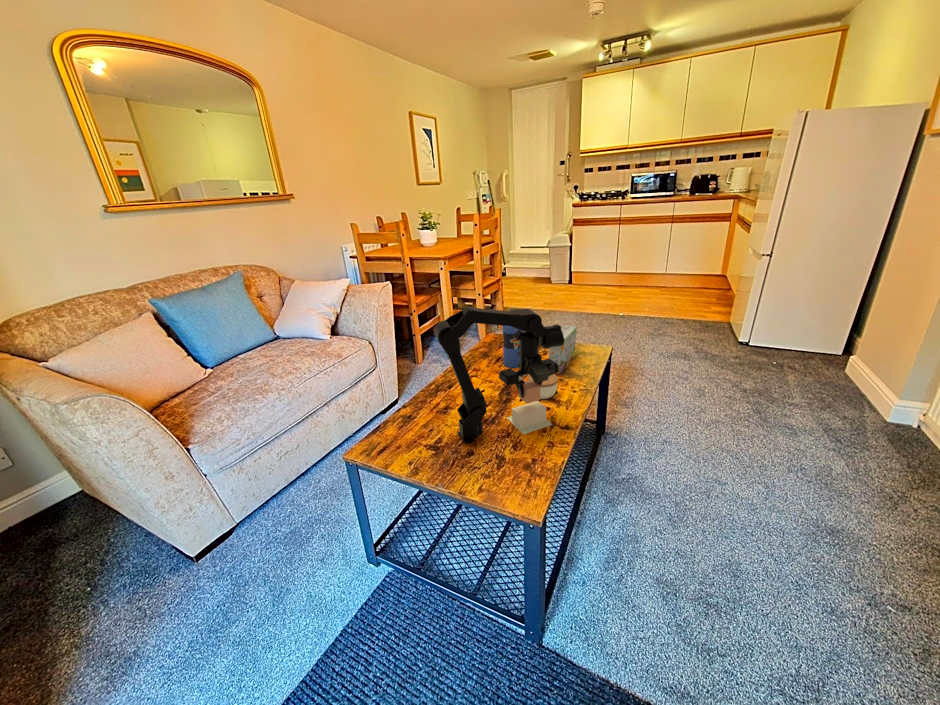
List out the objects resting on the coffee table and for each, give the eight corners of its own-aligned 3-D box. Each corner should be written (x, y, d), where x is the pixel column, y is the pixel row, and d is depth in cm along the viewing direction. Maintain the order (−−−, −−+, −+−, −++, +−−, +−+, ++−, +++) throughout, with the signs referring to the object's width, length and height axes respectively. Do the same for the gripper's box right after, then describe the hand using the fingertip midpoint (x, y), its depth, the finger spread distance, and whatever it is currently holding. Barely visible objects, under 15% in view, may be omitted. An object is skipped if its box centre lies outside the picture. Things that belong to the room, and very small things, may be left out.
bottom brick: (519, 429, 126) (519, 415, 124) (512, 421, 131) (511, 408, 129) (546, 420, 130) (546, 407, 128) (537, 413, 134) (537, 400, 132)
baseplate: (523, 436, 124) (523, 434, 124) (506, 420, 133) (506, 417, 133) (552, 427, 128) (552, 424, 128) (534, 411, 137) (534, 409, 137)
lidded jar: (558, 390, 150) (559, 368, 146) (556, 404, 141) (556, 381, 137) (530, 388, 153) (530, 366, 149) (526, 402, 143) (526, 379, 140)
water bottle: (499, 362, 176) (497, 308, 166) (517, 357, 180) (516, 305, 170) (509, 370, 168) (508, 314, 158) (528, 365, 172) (528, 310, 162)
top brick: (526, 403, 123) (526, 389, 122) (518, 396, 128) (518, 383, 126) (540, 399, 125) (540, 385, 123) (531, 392, 129) (531, 379, 127)
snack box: (560, 376, 160) (561, 342, 154) (547, 374, 163) (548, 340, 157) (575, 357, 177) (577, 325, 171) (563, 355, 179) (564, 324, 173)
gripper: (515, 367, 110) (516, 414, 116) (570, 353, 116) (568, 399, 122) (497, 353, 119) (498, 398, 126) (549, 341, 126) (548, 384, 132)
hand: (529, 395), depth 126 cm, fingers closed on top brick, 5 cm apart
